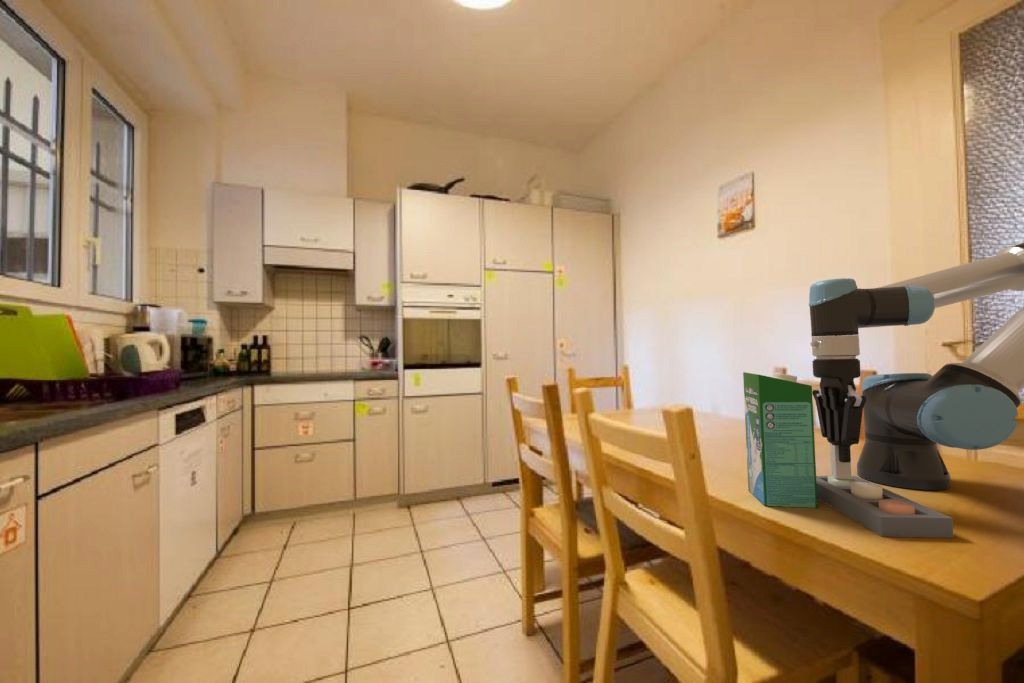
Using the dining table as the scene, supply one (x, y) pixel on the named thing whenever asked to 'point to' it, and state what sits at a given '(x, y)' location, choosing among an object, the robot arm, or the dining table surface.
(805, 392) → the milk carton
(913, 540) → the dining table surface
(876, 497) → the ivory button
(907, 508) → the terracotta button
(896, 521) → the grey button tray
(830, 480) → the sage button
